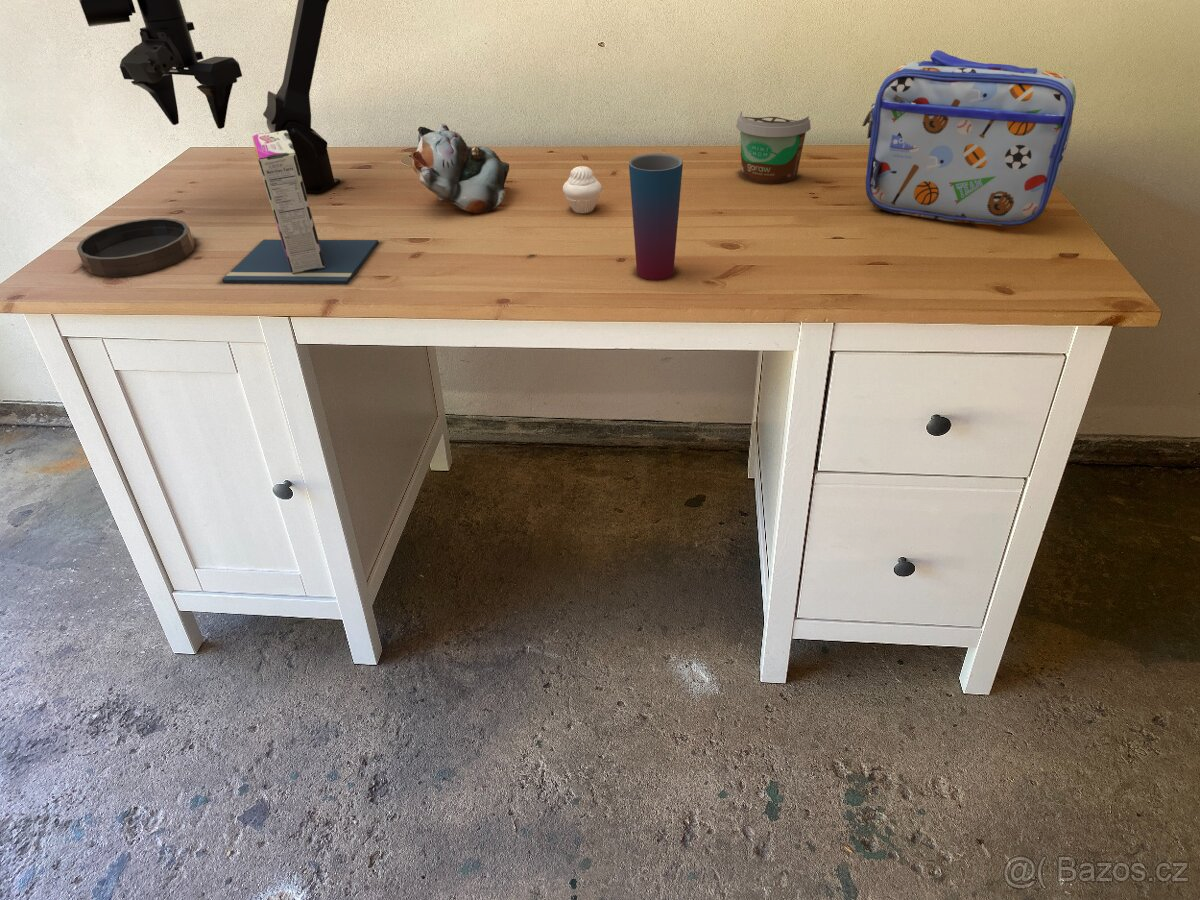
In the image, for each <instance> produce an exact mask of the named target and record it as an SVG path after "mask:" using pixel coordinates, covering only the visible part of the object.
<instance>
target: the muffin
mask: <svg viewBox="0 0 1200 900" xmlns="http://www.w3.org/2000/svg"><path fill="white" fill-rule="evenodd" d="M602 189H603V187H602V183H600V181H599V180H598V179H597V178H596V177H595V175H594V172H593V170H592V169H591V167H588V166H586V165H580V166H576V167H573V168H572V169H571V171H570V173H569V176H568V179H567V180H566V181H565V182H564V184H563V186H562V193H563V194H564V197H565V199H566V201H567V203H568V204H569V205H570V207H571V209H572V211H573V212H574V213H577V214H589V213H591V212H593V211H594V209H595V207H596V205H597V204H598V200H599V198H600V196H601V193H602Z"/></svg>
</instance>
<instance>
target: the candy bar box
mask: <svg viewBox="0 0 1200 900" xmlns="http://www.w3.org/2000/svg"><path fill="white" fill-rule="evenodd" d="M252 142H253V145H254V151H255V153H256V158H257V162H258V165H259V169H260V173H261V177H262V180H263V184H264V187H265V190H266V194H267V197H268V201H269V205H270V207H271V211H272V214H273V217H274V221H275V224H276V228H277V231H278V234H279V237H280V240H281V241H282V244H283V248H284V251H285V254H286V257H287V260H288V263H289V266H290V269H291V272H292V274H297V273H303V272H307V271H312V270H317V269H322V268H325V264H324V260H323V256H322V252H321V248H320V244H319V240H320V239H319V237H318V232H317V229H316V225H315V222H314V217H313V214H312V210H311V206H310V203H309V198H308V195H307V192H306V191H305V187H304V184H303V180H302V176H301V172H300V169H299V165H298V161H297V158H296V154H295V151H294V148H293V145H292V142H291V139H290V136H289V134H288V132H287V130H286V131H277V132H270V131H269V132H265V133H257V134H254V135H252Z"/></svg>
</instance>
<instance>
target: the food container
mask: <svg viewBox="0 0 1200 900" xmlns="http://www.w3.org/2000/svg"><path fill="white" fill-rule="evenodd" d="M735 127H736V129H737V130H738V131H739V133H740V163H741V176H742V177H743V178H744V179H746V180H747V181H750V182H753V183H758V184H771V185H773V184H782V183H786V182H787V183H788V182H790V181H792V180H795V179H796V177H797V175H798V171H799V166H800V162H801V157H802V152H803V148H804V143H805V138H806V133H808V132H809V131H810V130H811V129H812V127H811V119H810V115H807V116H806V117H804V118H802V119H798V120H793V119H787V118H783V117H778V116H764V117H750V116H743V111H742V110H741V111H740V112H739V114H738V117H737V121H736V125H735Z"/></svg>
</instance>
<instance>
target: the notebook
mask: <svg viewBox="0 0 1200 900" xmlns="http://www.w3.org/2000/svg"><path fill="white" fill-rule="evenodd" d="M318 240H319V244H320V248H321V252H322V256H323V260H324V264H325V268H322V269H317V270H312V271H307V272H303V273H297V274H292V272H291V269H290V266H289V263H288V260H287V257H286V254H285V251H284V248H283V244H282V241H281V239H263V240H262V241H261V242H259V243H258V244H257V245H256V246H255V247H254V248H253V249H252V250H251V251H250V252H249V253H248V254H247V255H246V256H245V257H244V258H243V259H242V260H241V261H240V262H239V263H238V264H236V265H235V266H234V267H233V269H232V270H230V271H229V272H227V274H226V275H225V276H224V277H223V278H222V279H221V281H222V283H224V284H226V283H227V284H317V285H318V284H324V285H325V284H327V285H329V284H330V285H331V284H332V285H333V284H335V285H339V284H340V285H347V284H349V282H350V281H351V280H352V278H353V277H354V276H355V274H356V273H357V271H358V270H359V269H360V268H361V267H362V265H363V264H364V262H366V260H367V259H368V257H369V256H370V255H371V253H372V252H373V251H374V250H375V248H376V247H377V246H378V245H379V240H378V239H318Z"/></svg>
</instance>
